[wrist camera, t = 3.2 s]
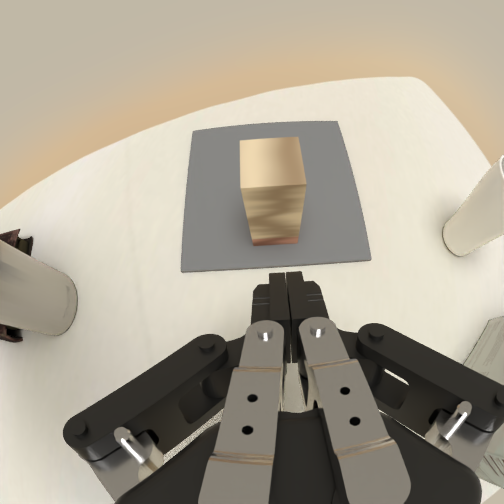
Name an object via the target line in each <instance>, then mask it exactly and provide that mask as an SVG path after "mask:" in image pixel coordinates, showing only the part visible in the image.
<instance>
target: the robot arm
mask: <svg viewBox="0 0 504 504" xmlns="http://www.w3.org/2000/svg"><path fill="white" fill-rule="evenodd" d="M76 308H77V294H76V289H75V286H74V284H73V282H72V280H71V279H70V278H69V277H68V276H67V275H65V274H64V273H62V272H59V271H57V270H55V269H53V268H51V267H49V266H48V265H46V264H44V263H42V262H40V261H38V260H36V259H34V258H32V257H30V256H29V255H27V254H25V253H23V252H21V251H19V250H18V249H16V248H14V247H12V246H10V245H9V244H7V243H5V242H3V241H2V240H0V324H4V325H8V326H12V327H16V328H20V329H25V330H29V331H33V332H38V333H43V334H48V335H54V336H56V335H60V334H62V333H64V332H65V331H66V330H67V329H68V328H69V326H70V325H71V323H72V321H73V319H74V316H75V313H76ZM290 344H291V350H290ZM291 355H292V363H298V379H299V384H300V389H301V394H302V399H303V404H304V409H305V412H302V413H291V412H284V411H283V410H284V392H285V375H286V372H287V363H291ZM385 369H387V370H389V371H390V372H392V373H394V374H395V375H397V376H399V377H401V378H402V379H404V380H405V381H407V383H408V384H409V385H407V384H405V383H403V382H402V381H400V380H398V379H397V378H395V377H393V376H391V375H390V374H388V373H386V372H385V371H384V370H385ZM223 408H224V411H223V415H222V420H221V422H219V423H216V424H214V425H213V426H211V427H209V428H208V429H206V430H205V431H204V432H203V433H201V434H200V435H199V436H198V437H197V438H196V439H194V440H193V441H192V442H191V443H190V444H188V445H187V446H186V447H185V448H184V449H182V450H181V451H180V452H179V453H178V454H176V455H175V456H174V457H173V458H171V459H170V460H169V461H168V462H166V463H165V464H164V465H163V463H164V456H163V455H164V454H166V453H167V452H169V451H170V450H171V449H173V448H174V447H175V446H177V445H178V444H179V443H181V442H182V441H183V440H184V439H186V438H187V437H188V436H190V435H191V434H192V433H193V432H195V431H196V430H197V429H198V428H200V427H201V426H202V425H203V424H205V423H206V422H207V421H208V420H210V419H211V418H212V417H213V416H214V415H216V414H217V413H218V412H219V411H220V410H221V409H223ZM378 409H379V410H381V411H382V412H384V413H386V414H387V415H386V414H384V413H382V412H379V410H378ZM388 415H389V416H388ZM391 417H392V418H391ZM394 419H395V420H394ZM396 420H397V421H398V422H397V421H396ZM399 422H400V423H401V424H400V423H399ZM503 423H504V385H502V384H500V383H498V382H496V381H494V380H492V379H490V378H488V377H486V376H484V375H482V374H480V373H478V372H476V371H474V370H472V369H470V368H468V367H466V366H464V365H462V364H460V363H458V362H456V361H454V360H452V359H450V358H448V357H446V356H444V355H442V354H440V353H438V352H436V351H434V350H432V349H430V348H429V347H427V346H425V345H423V344H421V343H419V342H417V341H415V340H413V339H411V338H409V337H407V336H405V335H403V334H401V333H399V332H397V331H395V330H393V329H391V328H389V327H387V326H385V325H382V324H378V323H371V324H366V325H364V326H362V327H361V328H360V329H359V331H358V333H354V332H346V331H342V330H340V329H338V328H337V327H336V325H335V324H334V322H333V321H331V320H330V319H329V316H328V313H327V309H326V306H325V302H324V300H323V296H322V293H321V289H320V286H319V285H317V284H316V283H315V282H314V281H305V282H304V280H303V276H302V272H301V271H297V272H286V279H285V272H283V273H269V284H260V285H258V286H257V287H256V288H255V289H254V291H253V302H252V316H251V325H250V326H249V327H248V329H247V331H246V334H245V335H244V336H242V337H241V338H238V339H235V340H232V341H228V342H226V341H225V340H224V339H223V338H222V337H221V336H219V335H215V334H205V335H201V336H199V337H197V338H195V339H193V340H192V341H191V342H189V343H188V344H186V345H185V346H183V347H182V348H180V349H179V350H177V351H176V352H174V353H173V354H171V355H170V356H168V357H167V358H165V359H164V360H162V361H161V362H159V363H158V364H156V365H155V366H153V367H152V368H150V369H149V370H147V371H146V372H144V373H142V374H141V375H139V376H138V377H136V378H135V379H133V380H132V381H130V382H128V383H127V384H125V385H124V386H122V387H121V388H119V389H117V390H116V391H114V392H113V393H111V394H109V395H108V396H106V397H105V398H103V399H101V400H100V401H98V402H97V403H95V404H93V405H92V406H90V407H88V408H87V409H85V410H83V411H82V412H80V413H78V414H77V415H75V416H73V417H72V418H70V419H69V420H68V421H67V423H66V424H65V426H64V429H63V437H64V440H65V442H66V443H67V444H68V445H69V446H70V447H71V448H72V449H73V450H75V451H76V452H77V453H78V455H79V456H80V457H81V458H82V459H83V460H84V461H86V462H87V463H88V464H89V465H90V466H91V468H92V469H93V471H94V472H95V474H96V475H97V477H98V478H99V480H100V481H101V483H102V484H103V486H104V487H105V488H106V490H107V491H108V493H109V494H110V495H111V497H112V498H113V499H114V501H115V504H480V502H481V497H482V489H481V483H480V480H479V478H478V476H477V475H476V473H475V471H476V470H477V468H478V466H479V464H480V462H481V460H482V458H483V456H484V454H485V452H486V450H487V448H488V446H489V444H490V441H491V439H492V437H493V435H494V433H495V432H496V431H497V430H498V429H499V428H500V427H501V425H502V424H503ZM402 424H403V425H405V426H406V427H408V428H409V429H411V430H413V431H414V432H416V433H418V434H419V435H421V436H423V437H424V438H425V440H424V439H423V438H421V437H420V436H418V435H417V434H415V433H414V432H412V431H411V430H409V429H408V428H406V427H405V426H403V425H402Z"/></svg>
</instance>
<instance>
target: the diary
mask: <svg viewBox="0 0 504 504" xmlns="http://www.w3.org/2000/svg"><path fill="white" fill-rule="evenodd" d="M19 232H20V229H17V230H13V231H10V232H6V233H3V234H0V240H2V241H3V242H5V243H7V244H9V245H10V246H12V247H14V248H16V249H18V250H19V251H21V252H23V253H25V254H27V255H29V256H30V257H31V250H32V244H33V240H32V236H31V237H30V238H27V239H21V238H19V237H18V234H19ZM7 329H12V330H16V329H19V328H16V327H12V326H8V325H4V324H0V339H1V340H5V341H9V342H19V341H22V340H23V339H22V337H15V336H9V335H7Z"/></svg>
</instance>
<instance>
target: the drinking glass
mask: <svg viewBox="0 0 504 504" xmlns="http://www.w3.org/2000/svg"><path fill="white" fill-rule="evenodd" d="M502 235H504V155H502V156H501V157H500V158H499V159H498V160H497V161H496V162H495V163H494V164H493V166H492V167H491V168H490V169H489V170H488V171H487V172H486V174H485V175H484V176H483V177H482V179H481V180H480V181H479V183H478V184H477V185H476V187H475V188H474V190H473V191H472V192H471V194H470V195H469V196H468V198H467V199H466V200H465V202H464V203H463V204H462V205H461V207H460V208H459V209H458V210H457V212H456V213H455V214H454V215H453V216H452V217H451V218H450V219H449V220H448V221H447V222H446V224H445V226H444V229H443V237H444V241H445V244H446V246H447V247H448V249H449V250H450V251H451V252H452V253H454V254H455V255H458V256H465V255H467V254H469V253H471V252H472V251H474V250H475V249H477V248H479V247H481V246H483V245H485V244H487V243H489V242H491V241H493V240H494V239H496V238H498V237H500V236H502Z"/></svg>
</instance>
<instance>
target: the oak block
mask: <svg viewBox="0 0 504 504" xmlns="http://www.w3.org/2000/svg"><path fill="white" fill-rule="evenodd" d="M306 185H307V184H306V178H305V172H304V166H303V160H302V154H301V149H300V143H299V138H298V137H282V138H265V139H252V140H240V189H241V193H242V197H243V202H244V206H245V211H246V215H247V220H248V224H249V228H250V233H251V237H252V242H253V246H264V245H280V244H296V243H298V237H299V231H300V225H301V218H302V212H303V205H304V198H305V192H306Z"/></svg>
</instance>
